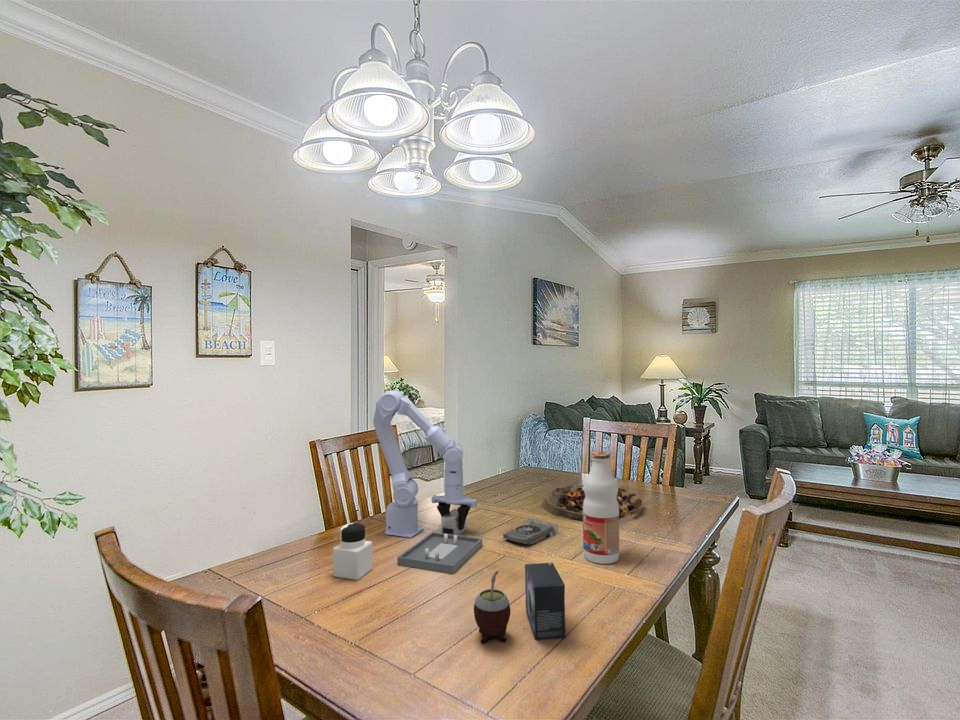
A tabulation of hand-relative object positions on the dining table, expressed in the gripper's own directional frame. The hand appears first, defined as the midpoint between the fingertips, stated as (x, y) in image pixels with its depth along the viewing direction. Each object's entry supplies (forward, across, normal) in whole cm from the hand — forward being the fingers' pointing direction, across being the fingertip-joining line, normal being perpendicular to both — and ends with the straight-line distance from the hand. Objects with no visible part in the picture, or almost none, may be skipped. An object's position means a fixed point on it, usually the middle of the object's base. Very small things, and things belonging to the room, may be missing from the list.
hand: (454, 528), depth 154 cm
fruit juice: (+2, -45, +4) cm, 45 cm away
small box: (+2, -39, +42) cm, 57 cm away
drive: (+2, 0, 0) cm, 2 cm away
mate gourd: (+2, -31, +50) cm, 59 cm away
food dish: (+2, -35, -40) cm, 53 cm away
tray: (+1, -4, +17) cm, 18 cm away
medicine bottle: (+2, +12, +35) cm, 37 cm away
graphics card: (+2, -22, -5) cm, 23 cm away
